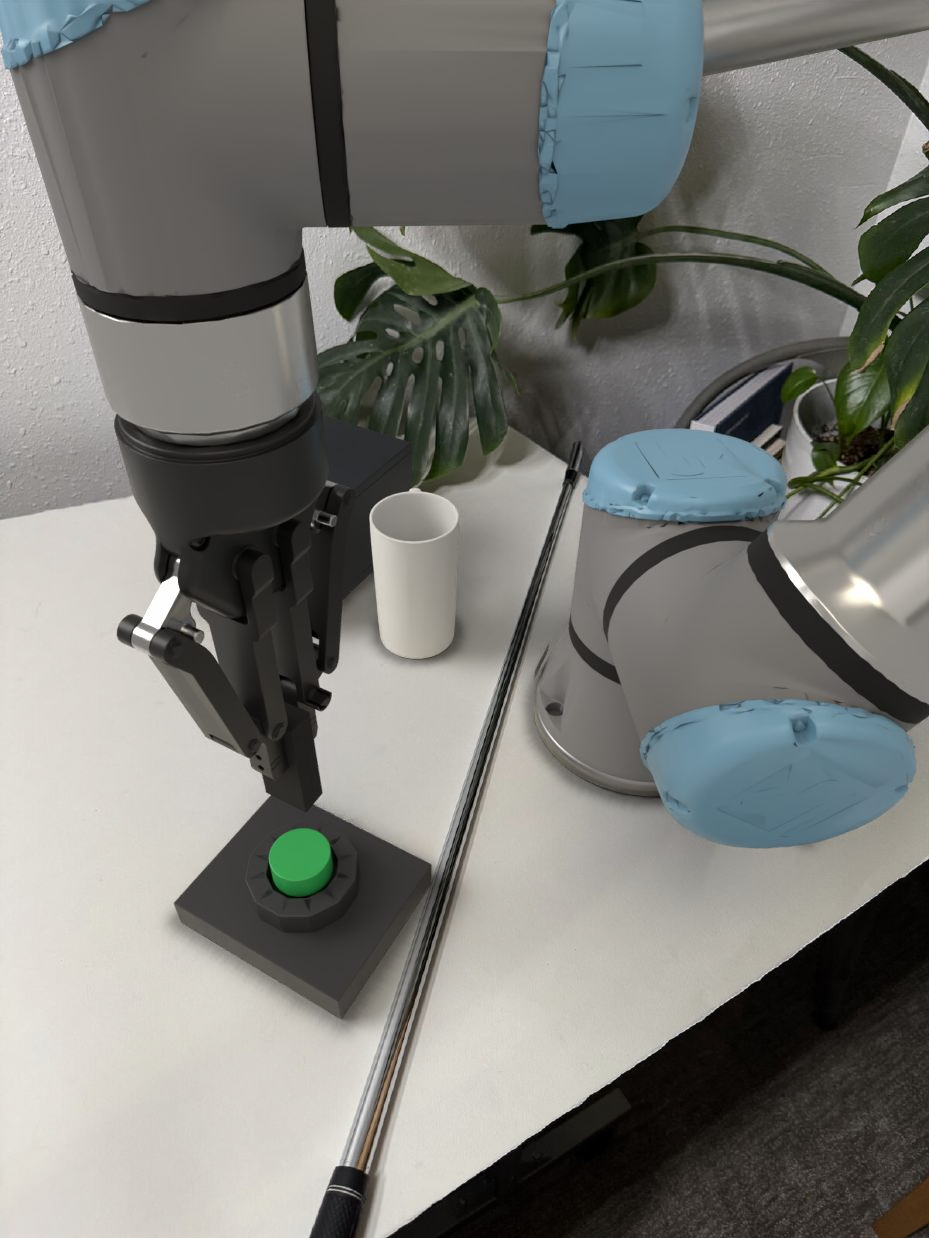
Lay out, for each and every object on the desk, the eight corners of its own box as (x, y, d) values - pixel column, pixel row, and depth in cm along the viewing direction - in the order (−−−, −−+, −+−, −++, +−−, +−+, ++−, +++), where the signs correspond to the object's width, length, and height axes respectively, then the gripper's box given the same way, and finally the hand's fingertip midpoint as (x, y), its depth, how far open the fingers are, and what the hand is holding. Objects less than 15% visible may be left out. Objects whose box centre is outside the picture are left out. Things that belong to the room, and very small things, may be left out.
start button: (344, 860, 53) (342, 843, 52) (308, 907, 51) (305, 890, 50) (297, 835, 55) (294, 818, 53) (259, 879, 52) (255, 863, 51)
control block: (431, 883, 56) (431, 847, 54) (341, 1019, 50) (335, 986, 47) (282, 806, 61) (275, 769, 58) (180, 922, 54) (166, 886, 51)
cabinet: (315, 626, 74) (303, 532, 68) (191, 574, 79) (168, 481, 73) (413, 531, 85) (411, 442, 78) (298, 491, 90) (287, 403, 83)
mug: (458, 662, 71) (460, 543, 63) (375, 662, 71) (367, 543, 63) (455, 583, 79) (457, 468, 71) (380, 584, 79) (373, 468, 71)
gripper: (251, 313, 38) (310, 692, 54) (-2, 449, 29) (157, 853, 45) (398, 351, 35) (415, 739, 51) (167, 514, 27) (273, 919, 42)
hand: (294, 792), depth 48 cm, fingers closed
